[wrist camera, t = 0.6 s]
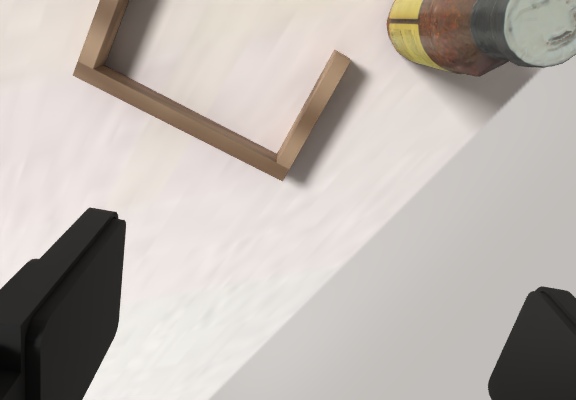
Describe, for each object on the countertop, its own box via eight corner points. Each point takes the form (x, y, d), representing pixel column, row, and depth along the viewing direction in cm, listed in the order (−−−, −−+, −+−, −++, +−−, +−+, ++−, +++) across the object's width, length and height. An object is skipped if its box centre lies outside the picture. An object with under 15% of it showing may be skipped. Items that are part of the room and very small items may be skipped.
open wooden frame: (135, -65, 36) (125, -70, 33) (347, 57, 39) (351, 60, 37) (85, 71, 39) (72, 75, 37) (282, 171, 43) (282, 181, 40)
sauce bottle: (455, 62, 39) (605, 112, 21) (379, 59, 39) (463, 107, 21) (469, -26, 37) (654, -56, 18) (388, -29, 37) (493, -64, 18)
